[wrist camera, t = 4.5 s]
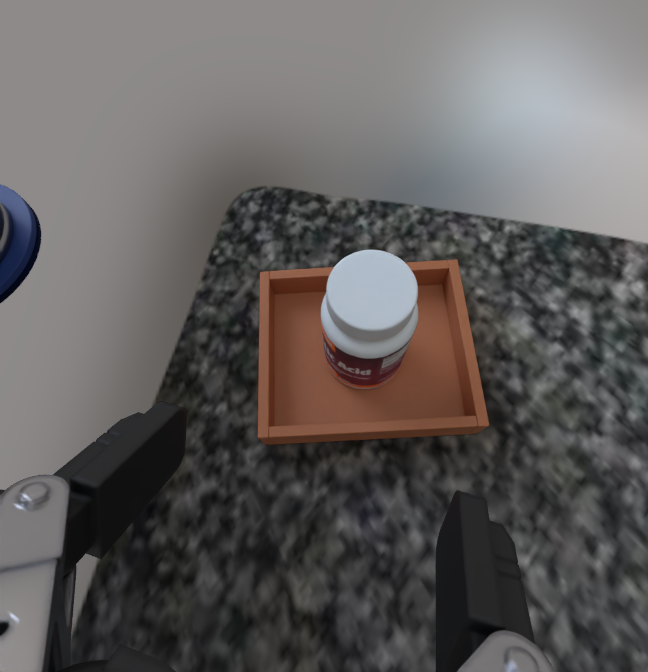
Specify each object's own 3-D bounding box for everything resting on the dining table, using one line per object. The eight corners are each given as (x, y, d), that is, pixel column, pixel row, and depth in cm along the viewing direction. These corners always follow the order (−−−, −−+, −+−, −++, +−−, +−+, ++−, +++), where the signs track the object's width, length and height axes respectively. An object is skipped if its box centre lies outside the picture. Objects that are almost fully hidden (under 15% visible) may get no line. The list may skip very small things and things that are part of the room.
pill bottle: (308, 357, 26) (294, 292, 19) (359, 304, 28) (365, 223, 20) (368, 408, 25) (378, 361, 17) (418, 351, 26) (449, 282, 19)
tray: (265, 444, 25) (257, 438, 23) (266, 290, 29) (259, 271, 27) (476, 433, 25) (489, 426, 22) (449, 278, 29) (457, 259, 26)
